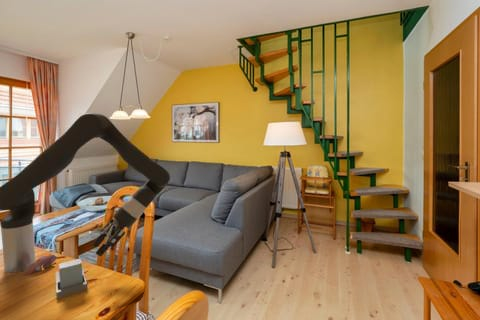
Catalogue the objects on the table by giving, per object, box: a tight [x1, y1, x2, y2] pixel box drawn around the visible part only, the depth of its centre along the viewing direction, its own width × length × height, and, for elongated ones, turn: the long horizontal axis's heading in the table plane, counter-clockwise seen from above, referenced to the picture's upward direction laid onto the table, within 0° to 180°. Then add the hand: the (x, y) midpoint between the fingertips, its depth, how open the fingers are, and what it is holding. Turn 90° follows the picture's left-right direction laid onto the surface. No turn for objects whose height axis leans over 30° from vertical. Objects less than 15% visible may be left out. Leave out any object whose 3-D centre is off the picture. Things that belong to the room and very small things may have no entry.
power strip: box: [55, 265, 88, 300], centre depth 83 cm, size 15×8×4 cm, turn 38°
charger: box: [58, 258, 83, 290], centre depth 80 cm, size 4×6×8 cm, turn 128°
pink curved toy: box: [22, 253, 58, 276], centre depth 94 cm, size 10×5×7 cm, turn 169°
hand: (96, 250), depth 84 cm, fingers open, 8 cm apart
